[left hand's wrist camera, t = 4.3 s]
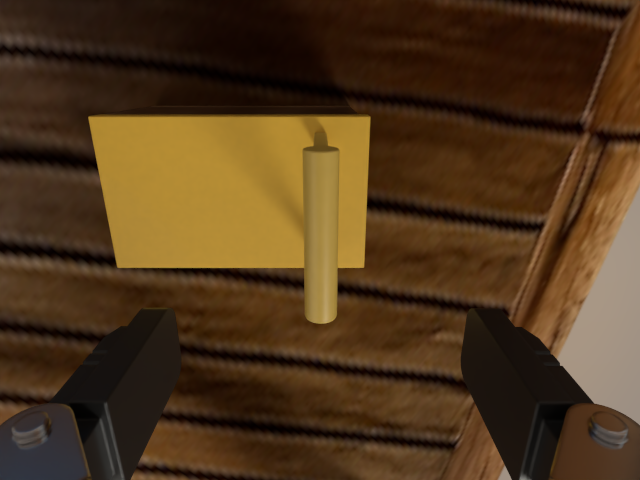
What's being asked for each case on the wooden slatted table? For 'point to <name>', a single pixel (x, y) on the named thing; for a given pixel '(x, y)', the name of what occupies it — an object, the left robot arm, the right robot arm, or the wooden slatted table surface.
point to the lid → (238, 194)
